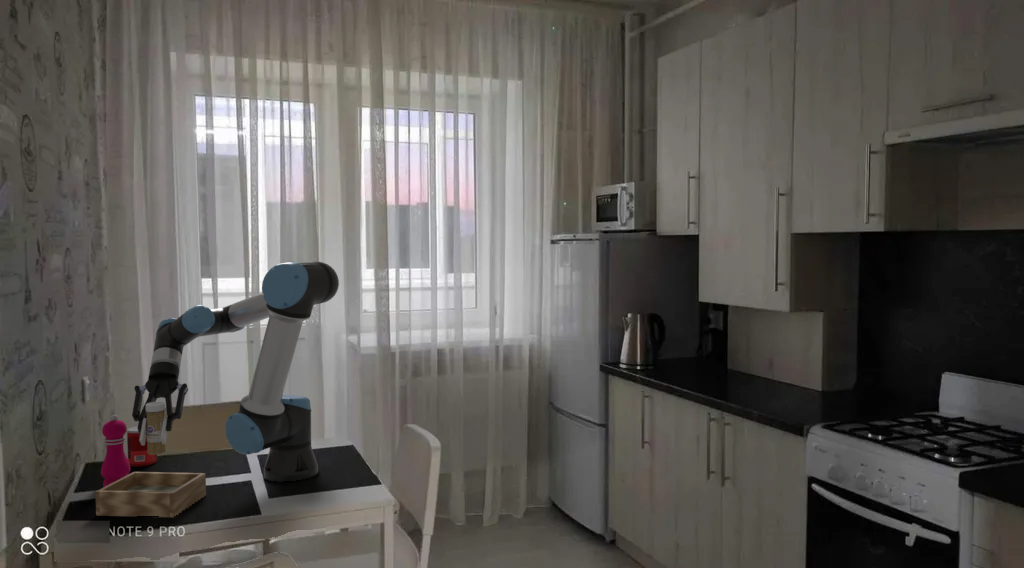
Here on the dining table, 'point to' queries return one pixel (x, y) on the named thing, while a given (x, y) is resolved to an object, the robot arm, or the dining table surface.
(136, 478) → the bore box
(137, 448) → the canned food
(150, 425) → the sprinkles bottle
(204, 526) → the dining table surface
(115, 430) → the pepper mill
